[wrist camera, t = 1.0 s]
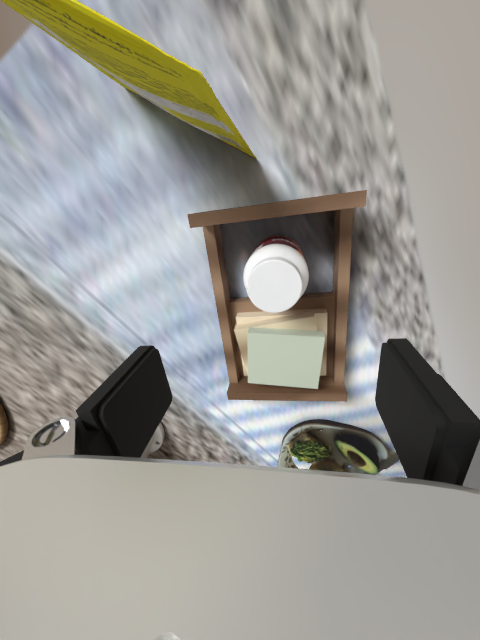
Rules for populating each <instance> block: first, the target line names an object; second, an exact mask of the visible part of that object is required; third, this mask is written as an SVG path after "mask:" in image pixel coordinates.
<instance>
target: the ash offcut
mask: <svg viewBox="0 0 480 640" xmlns="http://www.w3.org/2000/svg"><path fill="white" fill-rule="evenodd" d="M249 327H258V328H277V329H296V330H315V331H317V328H316V322H315V316H314V312H313V311H311V312H305V313H300V314H294V315H288V316H283V317H277V318H271V319H266V320H260V321H254V322H249V323H243V324H237V325H236V326H235V329H234V332H235V335H236V339H237V342H238V345H239V348H240V352H241V355H242V358H243V362H244V365H245V368H246V371H247V375H248V344H247V333H248V329H249ZM320 374H324V371H323V365H322V363H321V370H320Z"/></svg>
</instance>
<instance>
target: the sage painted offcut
mask: <svg viewBox="0 0 480 640" xmlns="http://www.w3.org/2000/svg"><path fill="white" fill-rule="evenodd" d="M324 342H325V335H324V332H323V331H315V330H296V329H277V328H258V327H249V329H248V333H247V344H248V383H254V384H265V385H277V386H289V387H300V388H312V389H318V384H319V377H320V370H321V363H322V356H323V349H324Z"/></svg>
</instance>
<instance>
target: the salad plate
mask: <svg viewBox="0 0 480 640" xmlns="http://www.w3.org/2000/svg"><path fill="white" fill-rule="evenodd" d="M319 430H322V431H319ZM291 455H292V456H294V457H297V458H298V461H299V462H301V461H302V460H303V461H305V462H307V463H312V465H311V467H310V468H309V470H321V471H335V472H348V473H359V474H370V475H378V472H380V471H381V470H383V469H387V468H388V467H390V466H391V465H393V464H394V463H396V462H397V461H398V460H399V457H398V455H397V453H393V452H391V451H390V450H388V449H387V448H386V446H385V445H384V444H383V442H382V441H381V440H380V439H379V438H378V437H376V436H375V435H373V434H372V433H370V432H369V431H367V430H364V429H362V428H359V427H355V426H352V425H348V424H343V423H339V422H335V421H330V420H322V419H316V420H308V421H303V422H301V423H299V424H297V425H295V426H293V427H292V428H291V429H290V430H289V431H288V432H287V433H286V434H285V436H284V438H283V441H282V448H281V452H280V456H279V460H278V467H282V468H295V469H298V468H297V467H296V465H295V464H294V462H293V460H292V456H291ZM349 465H351V466H352V468H348V467H347V466H349Z"/></svg>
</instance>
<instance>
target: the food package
mask: <svg viewBox="0 0 480 640" xmlns="http://www.w3.org/2000/svg"><path fill="white" fill-rule="evenodd" d="M1 1H2V2H4V3H5V4H7V5H8V6H10V7H11V8H12V9H14V10H15V11H17V12H18V13H19V14H21V15H22V16H24V17H25V18H26V19H28V20H29V21H31V22H32V23H34V24H35V25H36V26H38V27H39V28H41V29H42V30H43V31H45V32H46V33H48V34H49V35H50V36H52V37H53V38H55V39H56V40H58V41H59V42H60V43H62V44H63V45H65V46H66V47H67V48H69V49H70V50H72V51H73V52H75V53H76V54H77V55H79V56H80V57H82V58H83V59H84V60H86V61H87V62H89V63H90V64H91V65H93V66H94V67H96V68H97V69H98V70H100V71H101V72H103V73H104V74H105V75H107V76H108V77H110V78H111V79H113V80H114V81H116V82H118V83H119V84H120V85H121V86H123V87H125V88H127V89H128V90H130V91H132V92H134V93H136V94H138V95H140V96H142V97H143V98H145V99H147V100H148V101H150V102H151V103H153V104H154V105H156V106H158V107H159V108H161V109H163V110H164V111H166V112H168V113H170V114H171V115H173V116H175V117H177V118H179V119H180V120H182V121H184V122H186V123H188V124H190V125H192V126H194V127H196V128H198V129H200V130H202V131H204V132H206V133H208V134H210V135H212V136H214V137H216V138H218V139H220V140H222V141H224V142H225V143H227V144H229V145H231V146H233V147H235V148H237V149H239V150H241V151H243V152H244V153H247V154H248V155H250V156H252V157H254V158H256V157H255V156H254V154H253V153H252V151H251V150H250V148H249V146H248V145H247V143H246V142H245V140H244V139H243V137H242V136H241V134H240V133H239V131H238V130H237V128H236V127H235V125H234V124H233V122H232V121H231V119H230V118H229V116H228V115H227V113H226V112H225V110H224V109H223V107H222V106H221V104H220V103H219V101H218V99H217V98H216V96H215V94H214V93H213V90H212V88H211V87H210V86H209V84H208V83H207V81H206V79H205V78H204V77H203V75H202V73H201V72H200V71H198V70H196V69H193V68H191V67H190V66H188V65H187V64H185V63H183V62H180V61H179V60H177V59H176V58H174V57H173V56H170V55H168V54H166V53H164V52H163V51H162V50H160V49H159V48H157V47H155V46H154V45H152V44H151V43H149V42H148V41H146V40H144V39H142V38H141V37H139V36H137V35H136V34H134V33H132V32H130V31H129V30H127V29H125V28H124V27H122V26H120V25H118V24H117V23H115V22H113V21H112V20H110V19H108V18H106V17H105V16H103V15H101V14H99V13H97V12H96V11H94V10H92V9H90V8H89V7H87V6H85V5H83V4H82V3H80V2H78V1H76V0H1ZM256 159H257V158H256Z"/></svg>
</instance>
